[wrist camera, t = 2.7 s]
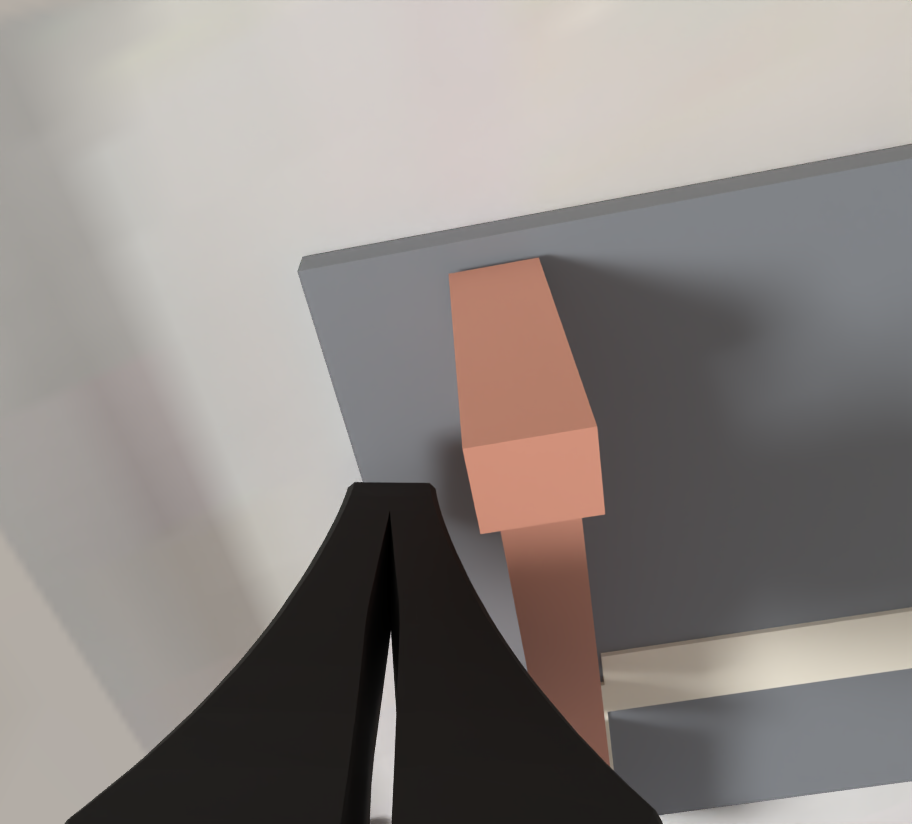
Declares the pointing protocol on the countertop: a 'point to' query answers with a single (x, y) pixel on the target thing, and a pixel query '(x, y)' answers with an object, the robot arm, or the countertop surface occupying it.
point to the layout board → (693, 459)
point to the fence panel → (533, 473)
